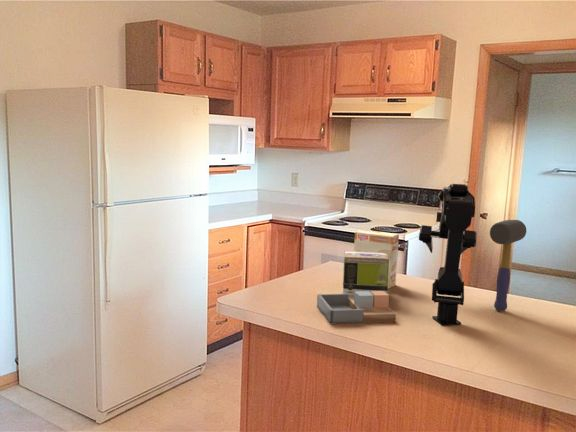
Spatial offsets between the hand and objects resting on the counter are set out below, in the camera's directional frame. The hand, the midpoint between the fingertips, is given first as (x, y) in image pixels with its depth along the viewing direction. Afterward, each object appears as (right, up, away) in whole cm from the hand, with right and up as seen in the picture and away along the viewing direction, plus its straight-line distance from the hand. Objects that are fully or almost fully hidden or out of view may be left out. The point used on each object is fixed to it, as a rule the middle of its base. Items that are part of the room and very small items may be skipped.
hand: (444, 253), depth 189 cm
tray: (-40, -17, -24) cm, 50 cm away
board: (-30, -17, -22) cm, 41 cm away
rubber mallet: (+14, -18, -15) cm, 27 cm away
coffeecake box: (-23, -12, +12) cm, 29 cm away
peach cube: (-27, -15, -22) cm, 38 cm away
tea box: (-29, -14, -4) cm, 33 cm away
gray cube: (-32, -14, -23) cm, 42 cm away
